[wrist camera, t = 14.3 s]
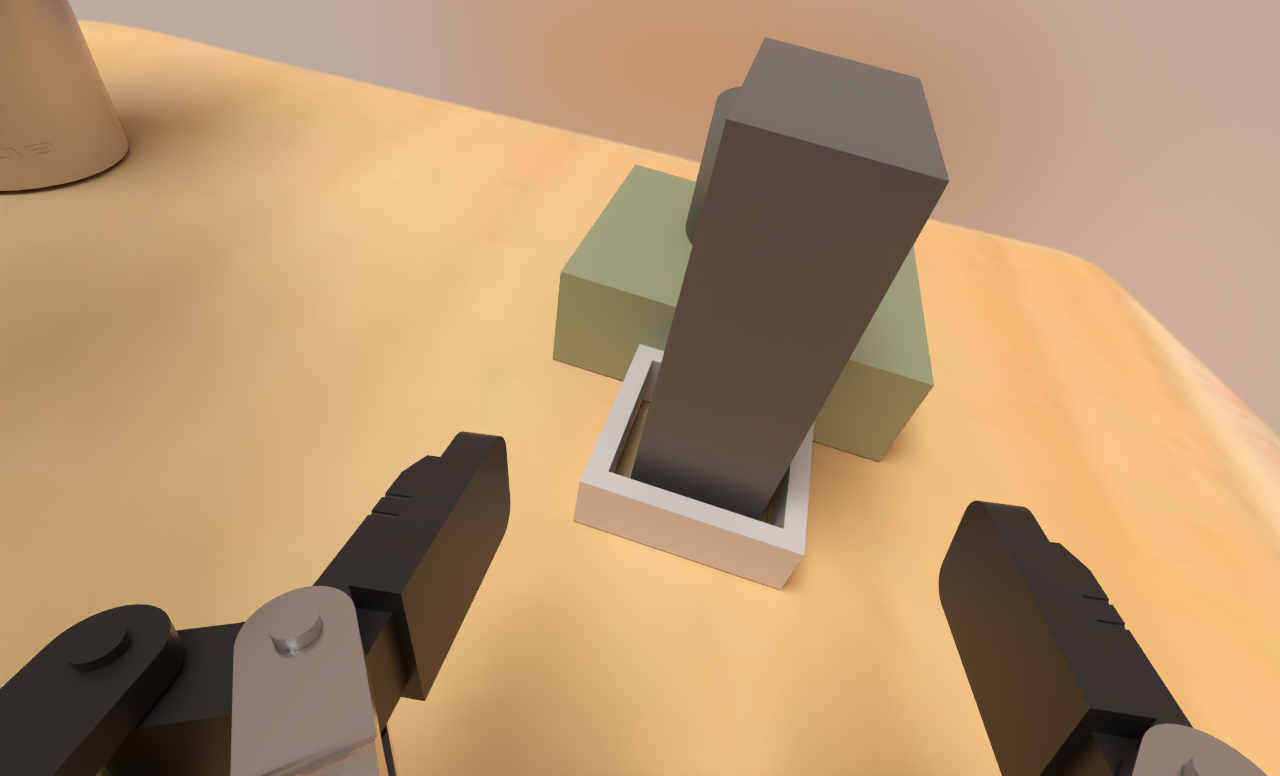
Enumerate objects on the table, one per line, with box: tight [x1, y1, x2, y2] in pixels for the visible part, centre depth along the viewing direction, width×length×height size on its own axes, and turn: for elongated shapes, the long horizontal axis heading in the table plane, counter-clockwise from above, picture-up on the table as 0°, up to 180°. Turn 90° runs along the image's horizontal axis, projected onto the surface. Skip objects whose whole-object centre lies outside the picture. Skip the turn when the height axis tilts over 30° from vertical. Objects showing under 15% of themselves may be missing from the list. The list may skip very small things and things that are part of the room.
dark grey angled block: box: [630, 37, 949, 521], centre depth 21 cm, size 8×5×15 cm, turn 165°
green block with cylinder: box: [553, 86, 934, 590], centre depth 26 cm, size 20×16×11 cm
